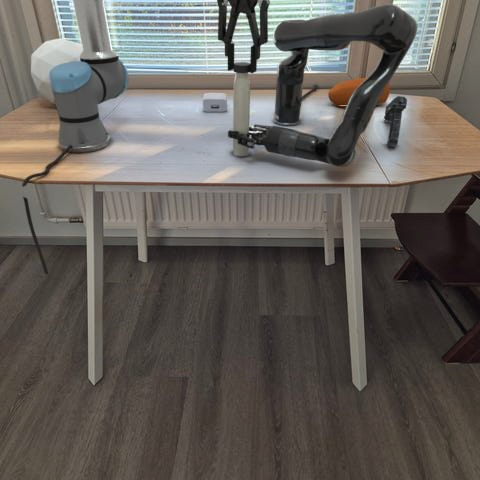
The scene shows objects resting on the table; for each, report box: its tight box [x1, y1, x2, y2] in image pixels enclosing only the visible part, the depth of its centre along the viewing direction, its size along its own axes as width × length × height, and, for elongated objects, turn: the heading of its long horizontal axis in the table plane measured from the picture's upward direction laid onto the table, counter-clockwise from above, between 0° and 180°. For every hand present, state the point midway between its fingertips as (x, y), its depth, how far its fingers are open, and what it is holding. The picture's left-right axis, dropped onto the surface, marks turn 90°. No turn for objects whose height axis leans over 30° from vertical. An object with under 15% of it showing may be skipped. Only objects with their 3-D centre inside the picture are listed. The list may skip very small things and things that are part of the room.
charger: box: [202, 92, 228, 113], centre depth 163 cm, size 5×9×15 cm
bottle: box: [232, 72, 251, 157], centre depth 118 cm, size 5×5×25 cm
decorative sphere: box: [30, 37, 83, 105], centre depth 157 cm, size 24×25×25 cm
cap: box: [233, 61, 250, 74], centre depth 111 cm, size 5×5×2 cm
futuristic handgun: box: [383, 95, 408, 147], centre depth 138 cm, size 4×29×15 cm, turn 164°
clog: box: [327, 76, 391, 109], centre depth 165 cm, size 12×11×25 cm
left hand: (242, 70), depth 111 cm, fingers open, 6 cm apart
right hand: (233, 130), depth 122 cm, fingers closed on bottle, 4 cm apart
